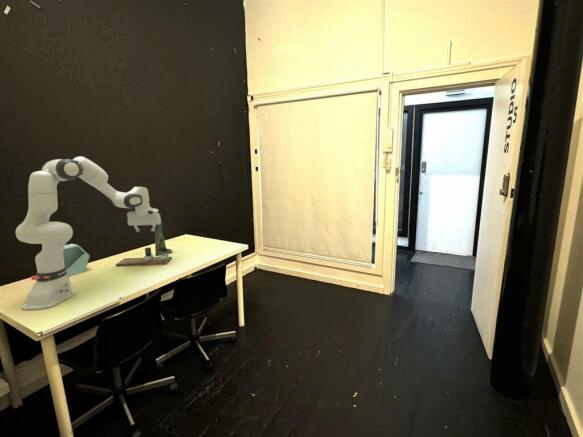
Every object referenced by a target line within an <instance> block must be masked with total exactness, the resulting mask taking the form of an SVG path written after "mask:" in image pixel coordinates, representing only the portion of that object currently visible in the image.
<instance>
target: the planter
mask: <svg viewBox="0 0 583 437" xmlns="http://www.w3.org/2000/svg"><path fill="white" fill-rule="evenodd" d="M63 257H64V264H65V267H66V269H67V276H68V277H71V276H74V275H77V274H81V273H84V272H86V270H87V266H88V263H89V259H90V254H89V253H87V251H85V249H83V248H82V247H81V246H80V245H79V244H74V243H70V244H65V246H64V250H63Z"/></svg>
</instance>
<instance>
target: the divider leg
mask: <svg viewBox="0 0 583 437" xmlns="http://www.w3.org/2000/svg"><path fill="white" fill-rule="evenodd" d="M144 253H145V255H144V256H143V258H144V260H145V262H147V261H151V260H152V259H153V257H154V253H152V248H151V247H145V248H144Z"/></svg>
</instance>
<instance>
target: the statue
mask: <svg viewBox="0 0 583 437" xmlns="http://www.w3.org/2000/svg"><path fill="white" fill-rule="evenodd" d="M159 215H160V217H161V216H162V213H159ZM154 230H155V231H154V238H155V241H154V242H155V243H154V246H155V247H154V250H155V253H154V254H155V256H156V257H159V256H160V255H162V253H165V254H168V255H169V254H172V253H173V251H172V249H171V248H167V246H166V241H165V235H164V234H163V222H162V221H161V223H160V224H159V225H156V226H155V228H154Z"/></svg>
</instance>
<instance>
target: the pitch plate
mask: <svg viewBox="0 0 583 437" xmlns="http://www.w3.org/2000/svg"><path fill="white" fill-rule="evenodd" d="M172 259H173V257H172V256H169V254H165V253H162V255H158V256H156V257H155V256H153V259H152V260H151V261H147V262H145V260H144V257H129V258H125V257H124V258H123V259H121V260H120V261H119V262H117V263H115V267H117V268H118V267H120V268H121V267H137V266H138V267H139V266H140V267H141V266H142V267H143V266H164V265H168V263H169V262H170V261H171V260H172Z"/></svg>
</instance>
